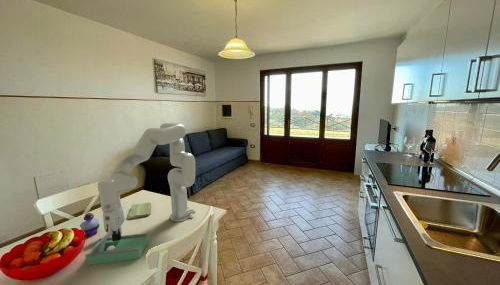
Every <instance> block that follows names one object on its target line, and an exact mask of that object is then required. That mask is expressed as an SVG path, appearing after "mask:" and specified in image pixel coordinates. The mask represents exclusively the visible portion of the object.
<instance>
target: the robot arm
mask: <svg viewBox="0 0 500 285" xmlns="http://www.w3.org/2000/svg"><path fill="white" fill-rule="evenodd" d="M186 134H187V129H186V127H185V125H183V124H182V123H173V122H171V123H170V122H164V123H162V124H161V125H160V126H159V128H158V127H150V128H147V129H146V130H145V131H144V132H143V133H142V134H141V136H140V139H139V140H138V141H137V143H136V145H135V147H134V148H133V150H132V151H131V152H129V154H127V155H126V156H125V157H124V158H123V159H122V160H120V162H119V163H118V164H117V165H116V167H115V168H114V170H113V171H112V173H111V176H110V177H107V178H103V179H101V180H99V181H98V182H97V190H98V195H99V196H98V197H99V200H100V201H99V202H100V207H101V211H102V218H103V219H102V221H103V228H104V231H105V233H107V232H108V235H112V240H113V241H120V239H121V236H122V233H120V226H121V227H122V225H123V223H124V222H125V220H126V219H125V213H124V208H123V206H122V202H121V195H120V193H122V192H128V191H131V190H134V189H135V188H136V187H137V186H138V183H139V180H138V178H137V176H135V175H133V174H130V173H131V171H132V169H134V168H135V167H136V166H137V165H139V164H141V163H143V162H146V161H148V160H150V157H151V156H152V155H153V153H154V151H155V149H156V147H157V145H160V146H163V145H164V146H166V145H168V144H169V163H170V164H171V166H173V167H175V168H172V169H170V170H169V172H168V174H167V180H168V185H169V189H170V200H171V202H170V203H171V214H170V216H169V219H170V221H173V222H183V221H186V220H188V219H190V218H191V216H192V215H193V214H196V210H194V209H193V208H189V204H188V194H187V192H188V191H187V188H189V187H191V186H193V184H194V183H195V181H196V159H195V156H194V154H192V153H190V152H186V148H185V147H186V146H185V141H184V138H185V136H186ZM191 214H192V215H191Z"/></svg>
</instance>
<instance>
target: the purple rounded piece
mask: <svg viewBox="0 0 500 285" xmlns="http://www.w3.org/2000/svg"><path fill="white" fill-rule="evenodd" d="M94 217H95V215H94V214H93V213H92V212H88V213H86V214H84V216H83V220H84V221H83V222H81V223H80V224H79V227H80V230H82V232H83V231H84V232H85V234H86V236H85V237H86V238H90V237H93V236H95V235H97V234H98V230H99V228H100V219H99V218H94ZM84 232H83V233H84ZM85 234H84V235H85Z"/></svg>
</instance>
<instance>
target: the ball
mask: <svg viewBox="0 0 500 285" xmlns="http://www.w3.org/2000/svg"><path fill="white" fill-rule="evenodd" d="M114 249H115V246H109V247H108V248H107V250H106V251H109V250H114Z"/></svg>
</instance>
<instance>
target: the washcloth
mask: <svg viewBox="0 0 500 285" xmlns="http://www.w3.org/2000/svg"><path fill="white" fill-rule="evenodd" d="M151 203H152V202H149V201H148V202H142V203H136V204H135V203H133V204H132V205H131V207H130V211H129V213H128V217H127V219H128V220H132V219H136V218H143V217H146V216H151V213H152V204H151Z"/></svg>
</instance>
